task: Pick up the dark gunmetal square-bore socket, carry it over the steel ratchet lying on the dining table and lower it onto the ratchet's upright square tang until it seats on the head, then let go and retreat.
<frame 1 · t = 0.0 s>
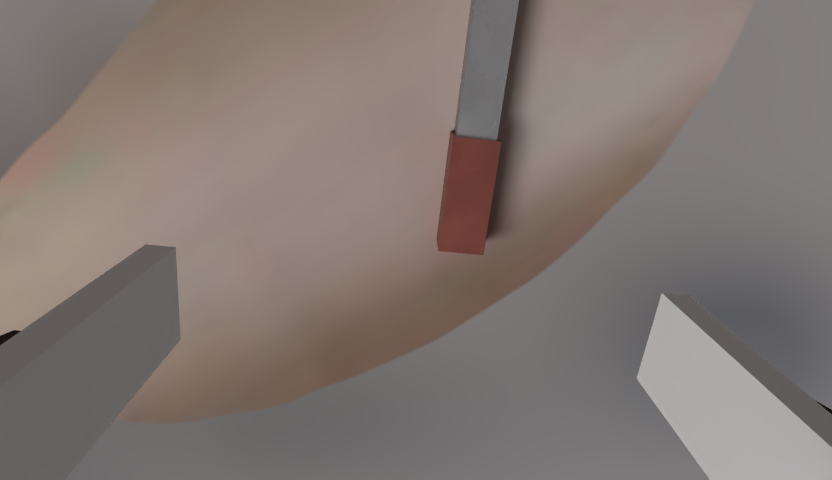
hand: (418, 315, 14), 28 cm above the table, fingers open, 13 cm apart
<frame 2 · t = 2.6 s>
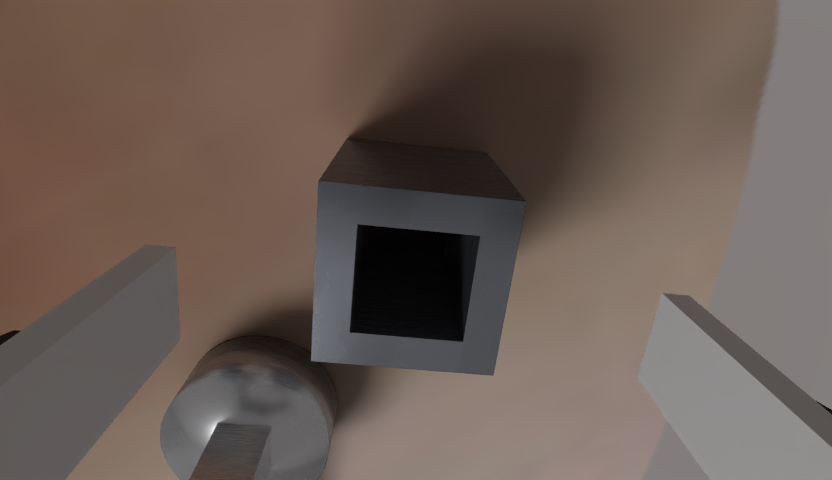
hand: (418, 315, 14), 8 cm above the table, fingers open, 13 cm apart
ratchet: (263, 399, 24), on the table
socket: (410, 212, 21), on the table
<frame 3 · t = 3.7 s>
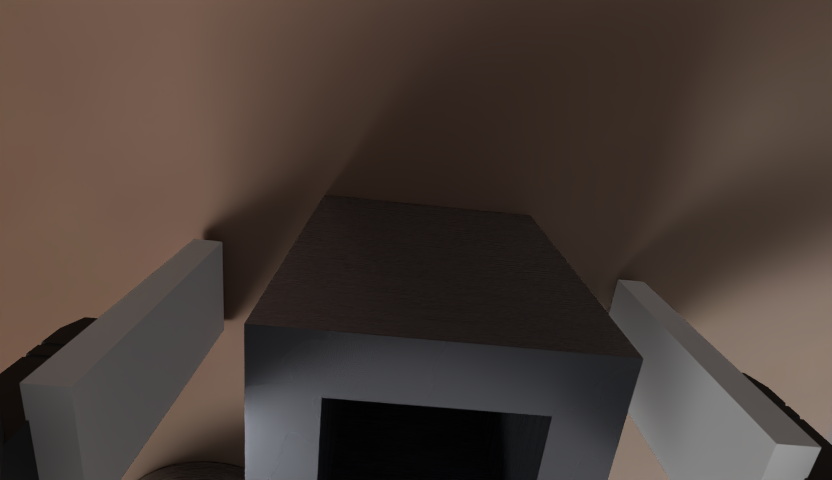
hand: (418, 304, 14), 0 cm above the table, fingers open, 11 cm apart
socket: (417, 299, 15), on the table
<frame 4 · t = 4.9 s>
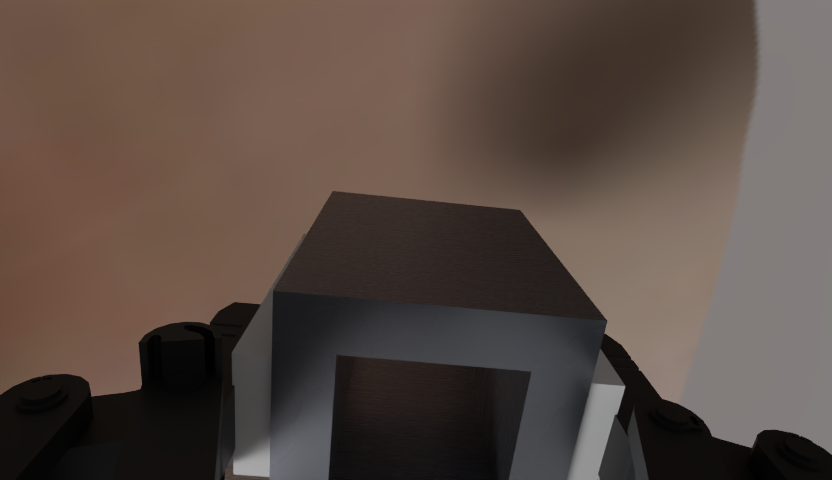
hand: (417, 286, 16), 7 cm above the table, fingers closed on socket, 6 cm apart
socket: (417, 286, 16), point 7 cm above the table, touching gripper
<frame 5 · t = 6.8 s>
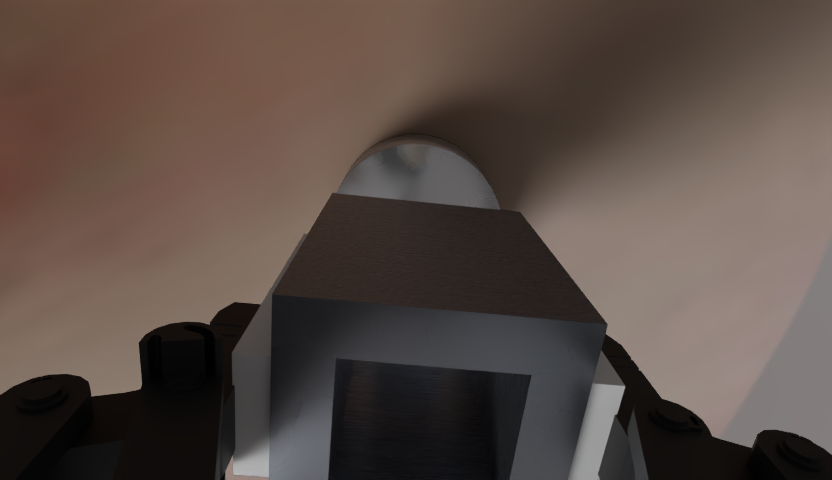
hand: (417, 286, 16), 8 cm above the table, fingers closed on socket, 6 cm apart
ratchet: (414, 211, 23), on the table
socket: (416, 288, 16), point 8 cm above the table, touching gripper
when the fingers open (4 cm above the table, at t = 8.7 s): socket stays where it is, resting on ratchet.
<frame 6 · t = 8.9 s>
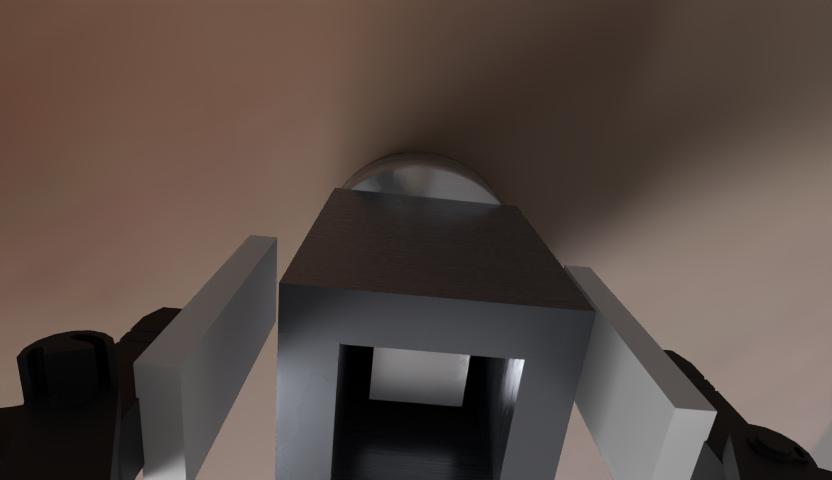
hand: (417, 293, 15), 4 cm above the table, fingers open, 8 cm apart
ratchet: (415, 244, 19), on the table
socket: (416, 280, 16), point 3 cm above the table, touching ratchet
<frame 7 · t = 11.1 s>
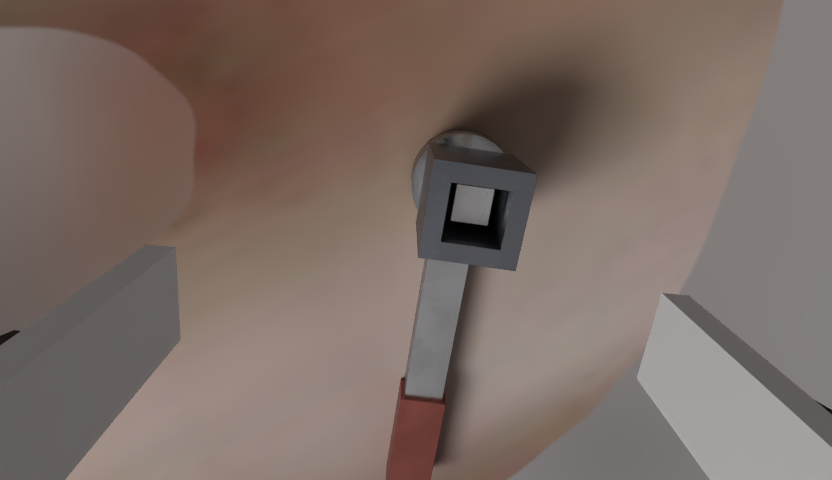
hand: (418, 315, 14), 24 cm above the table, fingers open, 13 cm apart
ratchet: (459, 178, 37), on the table
socket: (463, 189, 34), point 3 cm above the table, touching ratchet
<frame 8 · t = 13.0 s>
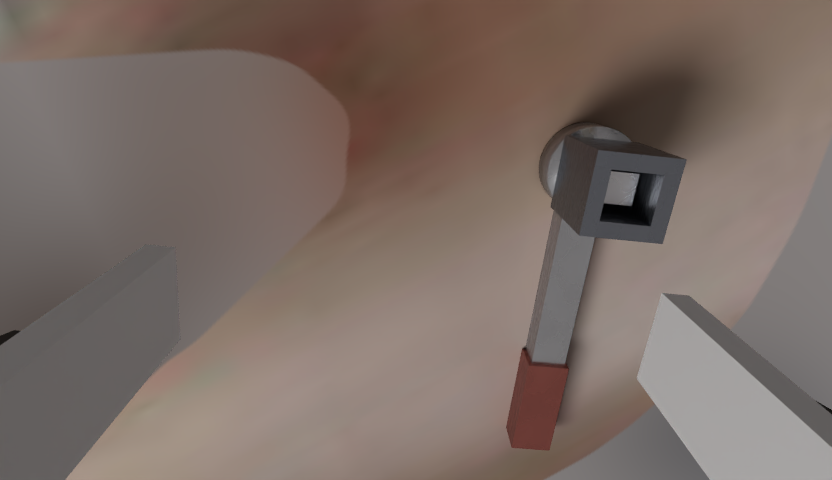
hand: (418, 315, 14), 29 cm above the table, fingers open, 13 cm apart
ratchet: (581, 165, 42), on the table
socket: (593, 175, 39), point 3 cm above the table, touching ratchet
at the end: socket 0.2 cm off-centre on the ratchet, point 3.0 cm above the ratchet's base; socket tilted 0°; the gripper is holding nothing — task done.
